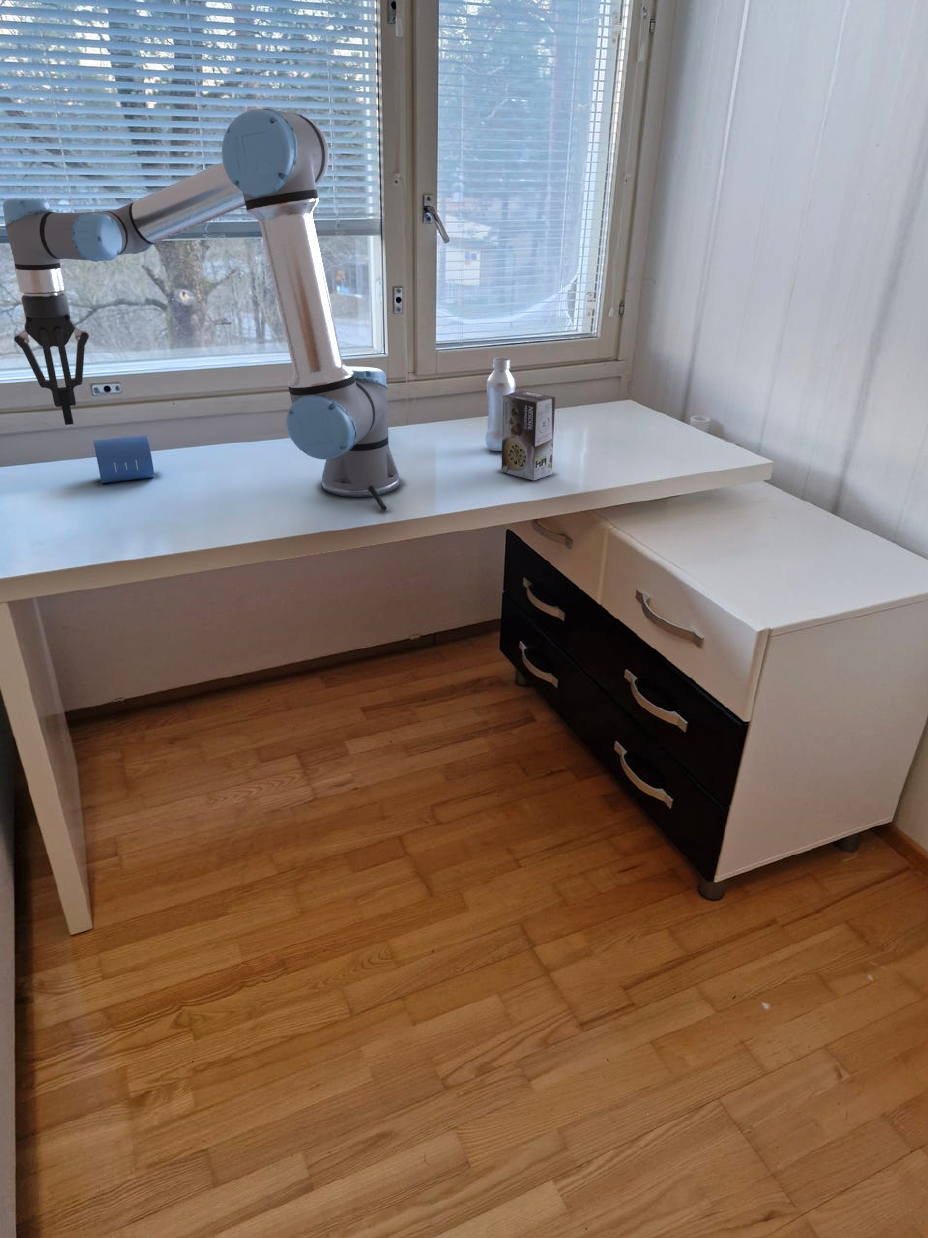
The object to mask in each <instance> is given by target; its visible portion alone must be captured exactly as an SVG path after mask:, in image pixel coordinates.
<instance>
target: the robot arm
mask: <svg viewBox="0 0 928 1238" xmlns="http://www.w3.org/2000/svg"><path fill="white" fill-rule="evenodd" d="M222 139H223V140H222V145H221V159H222V162H219V163H217V164H215V165H213V166H211V167H208V168H205V169H204V170H201V171H200V172H199V171H198V172H197V173H195V174H193V175H191V176H188V177H186V178H184V179H181V180H179V181H177V182H175V183H173V184H170V185H168V186H166V187H164V188H161V189H159V190H157V191H155V192H152V193H150V194H148V195H146V196H144V197H143V196H142V197H141V198H139V199H137V200H134V201H133V202H129V203H128V204H126V205H123V206H121V207H119V208H115V209H111V210H99V211H98V210H97V211H85V212H84V211H83V212H56V211H52V209H51V207H50V203H49V201H48V200H47V199H45V198H7V199H6V200H4V201H3V203H2V210H3V217H4V223H5V224H4V228H5V230H6V234H7V237H8V243H9V246H10V249H11V254H12V258H13V263H14V270H15V276H16V280H17V285H18V289H19V292H20V293H22V294H23V295H22V296H21V298H20V299H21V304H22V308H23V313H24V317H25V323H24V327H23V328H24V329H23V330H21V332H19V333H16V334H14V337H13V341H14V342H15V343H16V345H18V346H19V347H20V348H21V349H22V351H23V353H24V356H25V357H26V359H27V362H28V363H29V366H30V368H31V370H32V372H33V374H34V376H35V378H36V380H37V382H38V384H39V386H40V387H41V388H43V389H49V390H50V391H51V395H52V399H53V404H54V406H55V407H56V408H60V407H61V411H62V416H63V421H64V425H65V426H70V425H74V418H73V412H72V408H71V406H74V407H75V406H76V404H77V400H76V396H75V390H74V389H75V387H78V386H81V385H83V377H84V363H85V349H86V348H85V346H86V344H87V342H88V340H89V339H90V338H89V337H90V334H89V331H87V330H83V329H81V328H79V327H76V324H75V322H74V321H73V320H72V318H71V314H70V307H69V303H68V296H67V295H66V294H65V293H64V292H65V290H66V286H65V281H64V277H63V270H62V267H61V260H76V261H90V262H93V263H98V262H110V261H113V260H115V259H117V256H122V255H128V254H129V255H130V254H131V255H136V254H141V253H143V252H145V251H148V250H150V249H151V248H152V247H153V246H154V245H155V244H158V243H159V242H162V241H164V240H166V239H169V238H171V237H174V236H177V235H179V234H182V233H183V232H185V231H188V230H190V229H193V228H195V227H198V226H200V225H203V224H205V223H208V222H210V221H213V220H215V219H217V218H219V217H222V216H225V215H227V214H229V213H231V212H234V211H236V210H239V209H242V208H244V207H245V208H246V209H245V210H246V213H247V214H248V215H250V216H251V217H252V218H253V219H255V220H256V221H257V222H258V224H259V226H260V231H261V235H262V240H263V244H264V248H265V254H266V258H267V261H268V262H267V263H268V264H269V270H270V275H271V279H272V284H273V288H274V292H275V297H276V301H277V304H278V309H279V313H280V318H281V322H282V326H283V332H284V335H285V338H286V340H285V341H286V344H287V348H288V352H289V357H290V362H291V366H292V370H293V374H292V376H291V377H290V379H289V381H288V382H287V388H288V392H289V396H290V401H291V405H290V407H289V409H288V412H287V415H286V420H285V421H286V423H285V425H286V430H287V433H288V436H289V438H290V439H291V441H292V442H293V444H294V446H296V447H297V448H298V450H300V451H301V452H303V453H304V454H306V456H309V457H311V458H314V459H317V460H325V462H324V467H323V471H322V475H321V484H322V485H321V486H322V489H323V490H325V491H326V492H327V493H330V494H333V495H336V496H341V497H347V498H365V497H366V498H368V497H373V498H374V500H375V501H376V503H377V505H378V507H379V508H380V510H382V511H384V512H385V511H387V509H388V507H387V505H386V504H385V503H384V501H383V500H382V498H381V495H385V494H387V493H391V492H393V491H394V490H396V489H397V488H398V487H399V485H400V475H399V471H398V468H397V465H396V462H395V460H394V457H393V454H392V452H391V449H390V445H389V444H390V443H389V415H388V414H389V413H388V412H389V411H388V410H389V409H388V387H389V386H388V385H387V376H386V373H385V371H383V370H382V369H380V368H376V367H369V366H347V365H345V363H344V362H343V358H342V353H341V349H340V344H339V343H340V342H339V340H338V339H339V337H338V333H337V329H336V324H335V319H334V316H333V315H334V313H333V310H332V305H331V299H330V295H329V290H328V285H327V281H326V275H325V271H324V265H323V262H322V261H323V260H322V257H321V256H322V255H321V252H320V251H321V250H320V246H319V242H318V237H317V231H316V226H315V223H314V222H315V221H314V217H313V212H314V209H315V207H316V206H317V205H318V203H319V201H320V200H319V194H318V189H317V186H318V185H319V184H320V183H321V182H322V180H323V179H324V178H325V176H326V174H327V171H328V168H329V164H330V149H329V145H328V141H327V139H326V136H325V135H324V133H323V131H322V130H321V128H320V127H319V126H318V125H317V124H316V123H315V122H314V121H313V120H312V119H310V118H309V117H307V116H304V115H303V114H301V113H295V112H285V111H279V110H275V109H271V108H258V109H252V110H248V111H243V112H242V113H241V114H239V115H238V116H236V117H235V118H233V120H232V121H231V123H229V126H228V127H227V129H226V131H225V133H224V136H223V138H222ZM73 334H74V339H75V340H76V341H77V342H76V355H75V372H74V377H73V378H72V374H71V369H70V364H69V359H68V355H67V349H66V345H67V344H68V343H69V341H70V339H71V337H72V335H73ZM29 336H30V337H31V338H32V340H33V341H35V342H36V343H37V344H38V345H39V346H40V347H42V351H43V355H44V360H45V365H46V370H47V375H48V379H46V377H45V375H44V372H43V371H42V369H41V367H40V364H39V362H38V361H37V358H36V356H35V354H34V352H33V349H32V348H31V345H30V344H29V343H30V338H29ZM54 347H55V348H57V350H58V355H59V359H60V365H61V369H62V374H63V380H64V385H65V386H62V387H59V385H58V380H57V379H58V378H57V374H56V370H55V364H54V359H53V354H52V350H51V348H54Z"/></svg>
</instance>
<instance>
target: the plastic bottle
mask: <svg viewBox="0 0 928 1238" xmlns="http://www.w3.org/2000/svg"><path fill="white" fill-rule="evenodd" d="M492 360H493V361H492V369H493V370H492V372H491V374H490V375H489V376H488V378H487V380H486V385H485V386H486V395H487V405H488V406H487V407H488V417H487V429H486V432H485V445H486V447H487V448H488V450H490V451H495V452H502V396H504V395H507V394H510V393H513V392H516V386H517V385H516V379H515V378H514V376H513V374H512V373H511V371H510V369H511V358H510V357H494V358H493V359H492Z"/></svg>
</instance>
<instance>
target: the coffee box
mask: <svg viewBox="0 0 928 1238" xmlns="http://www.w3.org/2000/svg"><path fill="white" fill-rule="evenodd" d="M555 412H556V396H554V395H548V394H544V393H538V392H532V391H528V390H522V389H521V390H517V391H516V390H515V392H513V393H510V394H507V395H504V396H502V451H501V466H500V467H501V468H500V472H501V473H504V474H507V475H511V476H515V477H519V478H522V479H526V480H530V481H537V480H539V479H542V478H545V477H548V476H551V475H552V474H553V454H554V452H553V451H554V436H555V435H554V433H555V432H554V431H555Z"/></svg>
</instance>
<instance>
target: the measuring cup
mask: <svg viewBox="0 0 928 1238" xmlns="http://www.w3.org/2000/svg"><path fill="white" fill-rule="evenodd" d="M93 446H94V450H95V451H94V452H95V458H96V462H97V468H98V471H99V477H100V481H101V484H107V483H116V482H123V481H124V482H125V481H133V480H141V479H150V478H155V469H154V463H153V456H152V452H151V447H150V442H149V438H148V436H147V435H146V434H145V435H135V436H134V435H133V436H126V437H115V438H114V437H113V438H106V439H104V438H103V439H95V440H93Z"/></svg>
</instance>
